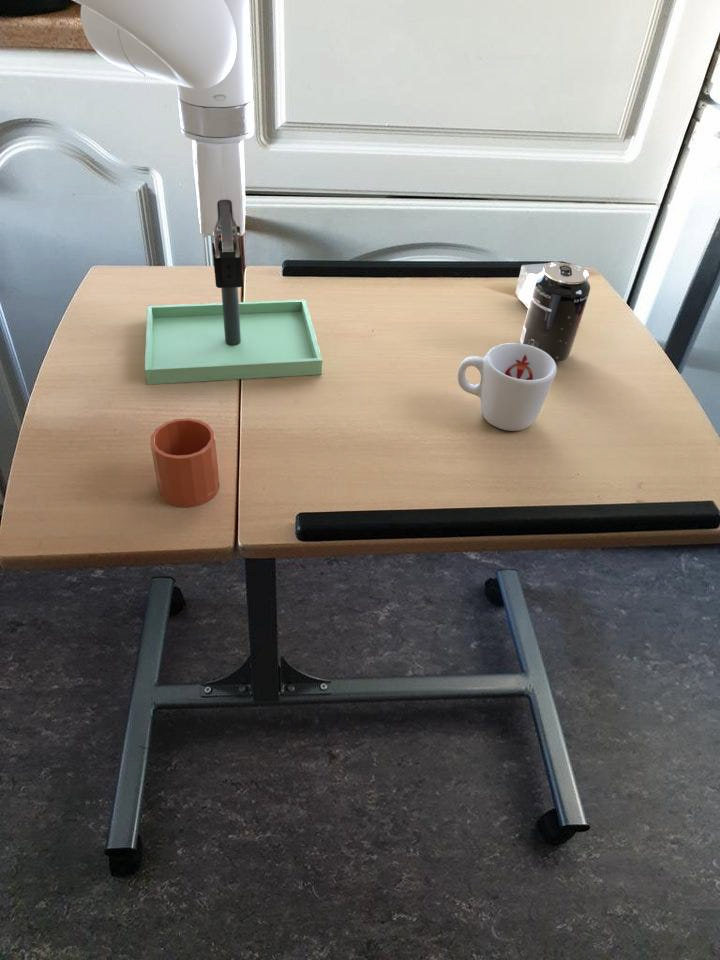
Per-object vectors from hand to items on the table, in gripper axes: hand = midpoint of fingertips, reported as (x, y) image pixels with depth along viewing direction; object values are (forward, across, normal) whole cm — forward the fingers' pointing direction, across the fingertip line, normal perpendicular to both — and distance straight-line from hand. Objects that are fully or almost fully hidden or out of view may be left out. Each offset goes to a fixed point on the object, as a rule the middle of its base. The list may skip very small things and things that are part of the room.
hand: (228, 279), depth 85 cm
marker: (+9, 0, 0) cm, 9 cm away
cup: (+10, +18, +30) cm, 36 cm away
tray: (+9, 0, 0) cm, 9 cm away
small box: (+10, -8, +46) cm, 48 cm away
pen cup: (+9, +26, -6) cm, 28 cm away
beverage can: (+10, +6, +41) cm, 42 cm away
